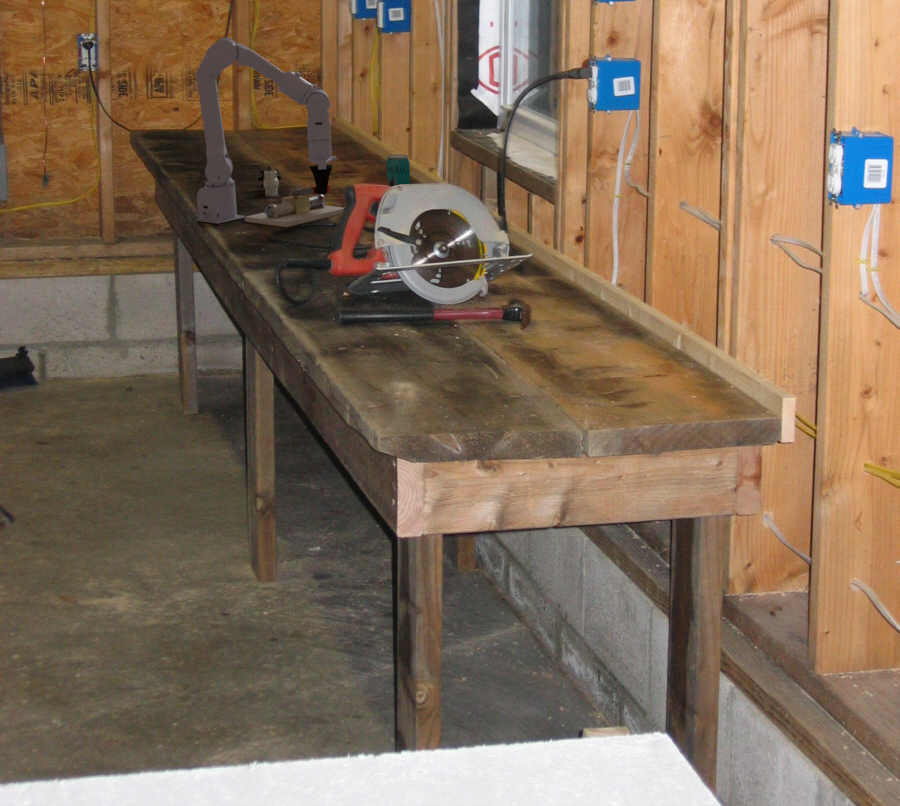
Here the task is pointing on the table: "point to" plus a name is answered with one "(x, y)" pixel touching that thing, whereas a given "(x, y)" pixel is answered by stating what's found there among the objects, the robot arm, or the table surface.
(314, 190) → the valve lever
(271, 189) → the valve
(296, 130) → the table surface
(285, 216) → the mounting board
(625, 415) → the table surface
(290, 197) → the valve body
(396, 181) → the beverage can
